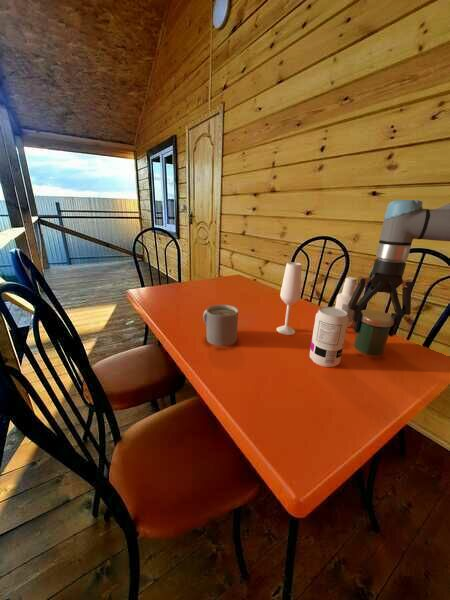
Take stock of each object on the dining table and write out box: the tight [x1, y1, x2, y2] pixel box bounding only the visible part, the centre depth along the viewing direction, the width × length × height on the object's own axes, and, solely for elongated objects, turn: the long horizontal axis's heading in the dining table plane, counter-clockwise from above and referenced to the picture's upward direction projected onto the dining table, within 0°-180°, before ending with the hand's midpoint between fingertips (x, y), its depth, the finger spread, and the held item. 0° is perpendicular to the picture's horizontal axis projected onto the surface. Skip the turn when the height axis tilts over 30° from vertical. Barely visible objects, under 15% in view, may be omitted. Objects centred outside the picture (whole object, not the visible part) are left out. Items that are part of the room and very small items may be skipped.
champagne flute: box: [275, 261, 303, 336], centre depth 86 cm, size 7×7×24 cm
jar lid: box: [361, 309, 394, 327], centre depth 76 cm, size 9×9×2 cm
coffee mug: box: [202, 304, 239, 347], centre depth 83 cm, size 13×10×10 cm
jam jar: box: [353, 321, 391, 357], centre depth 78 cm, size 8×8×10 cm
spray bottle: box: [334, 276, 357, 328], centre depth 94 cm, size 7×7×18 cm
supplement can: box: [308, 306, 349, 368], centre depth 70 cm, size 8×8×15 cm
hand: (372, 332), depth 78 cm, fingers closed on jar lid, 9 cm apart
